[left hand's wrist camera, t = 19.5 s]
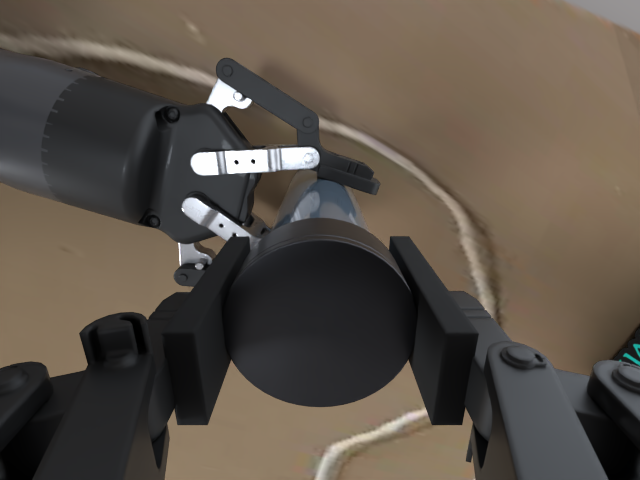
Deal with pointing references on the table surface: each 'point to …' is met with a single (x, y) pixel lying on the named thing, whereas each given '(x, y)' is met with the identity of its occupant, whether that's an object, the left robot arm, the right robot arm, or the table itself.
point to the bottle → (318, 201)
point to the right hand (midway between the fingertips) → (359, 227)
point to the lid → (319, 314)
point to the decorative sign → (631, 351)
